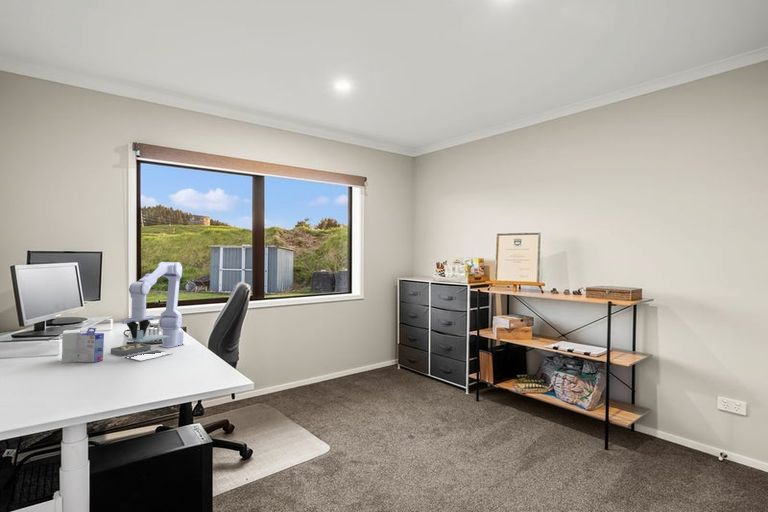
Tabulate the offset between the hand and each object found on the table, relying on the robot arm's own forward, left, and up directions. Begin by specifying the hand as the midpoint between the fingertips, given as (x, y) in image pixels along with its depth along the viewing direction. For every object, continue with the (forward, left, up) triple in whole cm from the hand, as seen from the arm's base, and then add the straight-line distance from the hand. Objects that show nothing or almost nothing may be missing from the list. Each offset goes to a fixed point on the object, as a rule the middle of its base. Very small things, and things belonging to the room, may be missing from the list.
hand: (138, 337), depth 187 cm
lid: (-5, 0, -2) cm, 6 cm away
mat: (-6, 0, -10) cm, 11 cm away
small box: (+17, -21, -10) cm, 29 cm away
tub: (-6, -14, -10) cm, 18 cm away
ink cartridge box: (+14, -13, -10) cm, 21 cm away
